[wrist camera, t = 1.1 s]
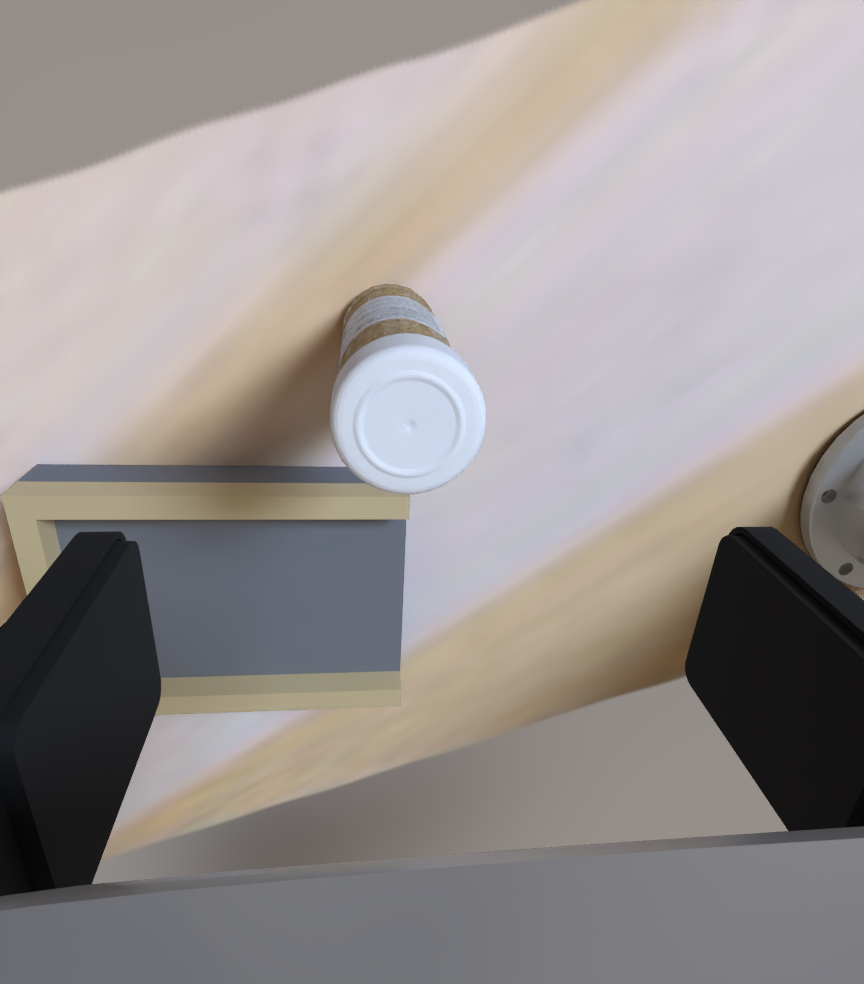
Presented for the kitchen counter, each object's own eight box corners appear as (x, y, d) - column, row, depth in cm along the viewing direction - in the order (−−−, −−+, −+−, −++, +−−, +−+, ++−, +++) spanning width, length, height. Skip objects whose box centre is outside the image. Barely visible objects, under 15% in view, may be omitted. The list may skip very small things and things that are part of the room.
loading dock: (404, 467, 33) (409, 496, 30) (397, 664, 39) (400, 706, 36) (37, 464, 31) (0, 495, 28) (84, 672, 37) (58, 718, 33)
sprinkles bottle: (420, 389, 31) (459, 514, 19) (329, 363, 30) (311, 479, 18) (449, 297, 30) (512, 373, 18) (354, 267, 29) (352, 325, 17)
